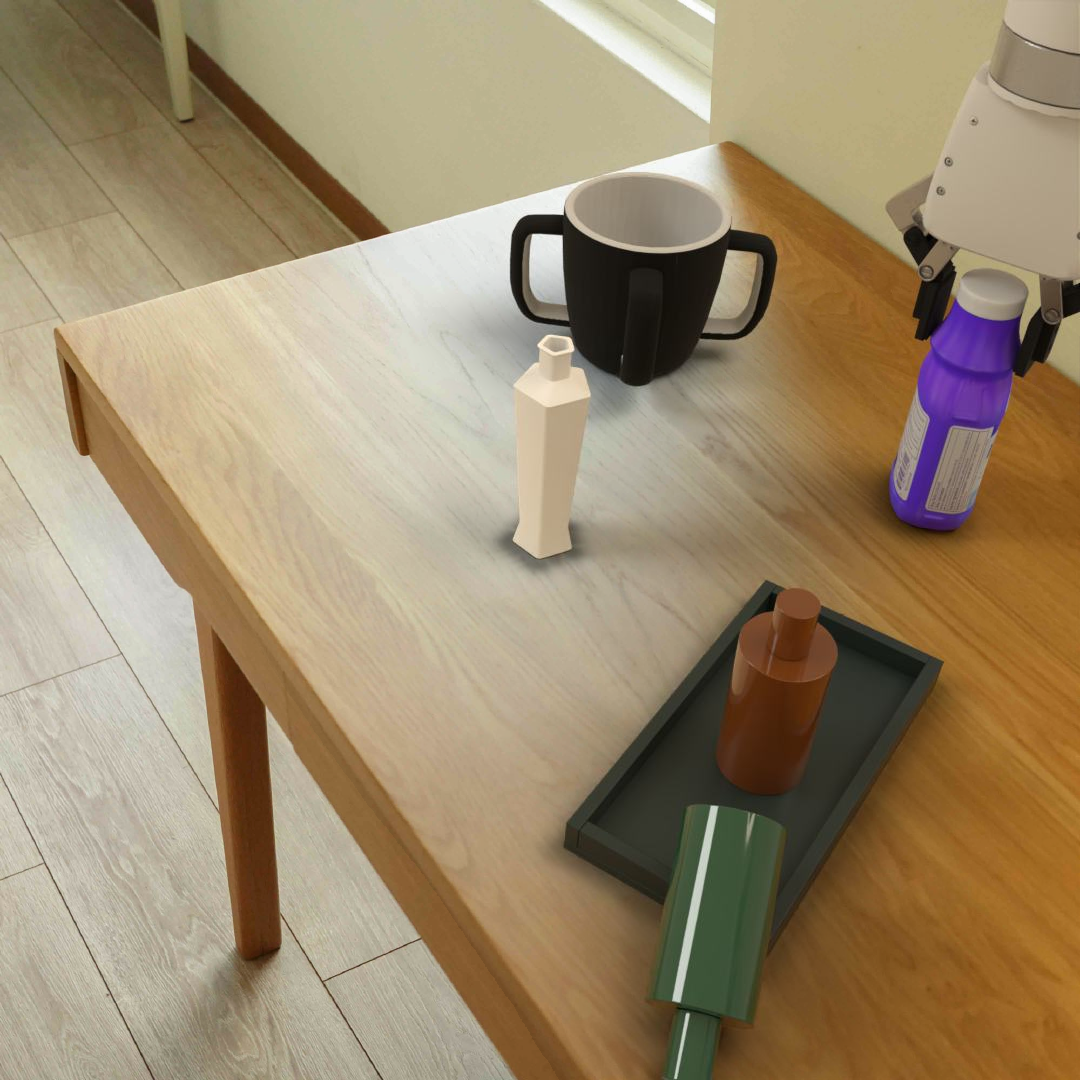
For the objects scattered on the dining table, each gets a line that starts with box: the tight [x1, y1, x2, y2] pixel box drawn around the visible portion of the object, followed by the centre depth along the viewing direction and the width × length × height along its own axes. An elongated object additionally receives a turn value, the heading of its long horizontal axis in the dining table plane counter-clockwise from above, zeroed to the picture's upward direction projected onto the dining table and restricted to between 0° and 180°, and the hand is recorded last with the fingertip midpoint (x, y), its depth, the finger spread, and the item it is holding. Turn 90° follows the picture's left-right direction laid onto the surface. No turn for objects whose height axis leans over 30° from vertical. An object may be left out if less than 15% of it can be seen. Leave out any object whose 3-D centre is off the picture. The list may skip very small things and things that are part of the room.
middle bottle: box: [715, 587, 838, 795], centre depth 70 cm, size 5×5×12 cm
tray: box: [563, 579, 945, 960], centre depth 74 cm, size 12×23×2 cm, turn 146°
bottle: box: [889, 267, 1030, 531], centre depth 87 cm, size 7×6×17 cm
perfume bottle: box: [512, 334, 592, 560], centre depth 83 cm, size 5×4×15 cm
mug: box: [509, 171, 778, 387], centre depth 101 cm, size 16×16×12 cm
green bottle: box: [644, 804, 788, 1080], centre depth 62 cm, size 5×5×12 cm
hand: (976, 345), depth 84 cm, fingers closed on bottle, 5 cm apart
